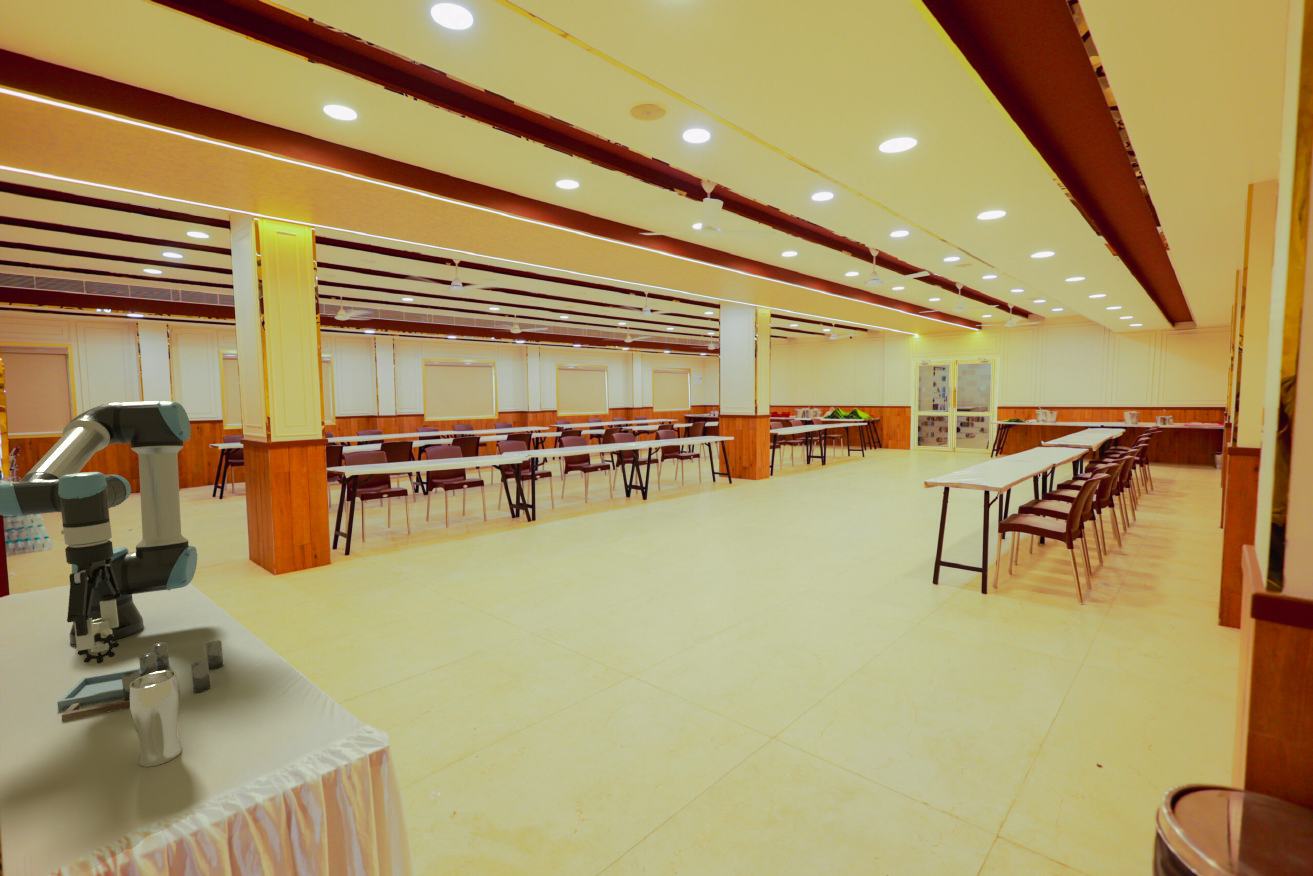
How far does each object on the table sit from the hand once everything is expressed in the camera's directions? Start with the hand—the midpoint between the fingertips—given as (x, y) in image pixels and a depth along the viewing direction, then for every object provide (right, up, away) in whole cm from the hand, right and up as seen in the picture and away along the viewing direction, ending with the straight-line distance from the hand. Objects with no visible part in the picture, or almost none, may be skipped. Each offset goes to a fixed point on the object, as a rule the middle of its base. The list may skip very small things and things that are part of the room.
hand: (98, 638), depth 133 cm
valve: (0, -4, +1) cm, 4 cm away
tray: (0, -12, +1) cm, 12 cm away
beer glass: (+33, -14, -23) cm, 43 cm away
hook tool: (+8, -13, -6) cm, 16 cm away
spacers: (+13, -12, +6) cm, 19 cm away
